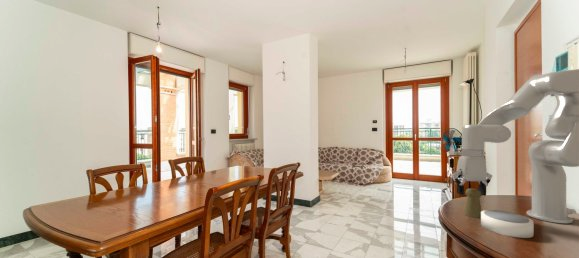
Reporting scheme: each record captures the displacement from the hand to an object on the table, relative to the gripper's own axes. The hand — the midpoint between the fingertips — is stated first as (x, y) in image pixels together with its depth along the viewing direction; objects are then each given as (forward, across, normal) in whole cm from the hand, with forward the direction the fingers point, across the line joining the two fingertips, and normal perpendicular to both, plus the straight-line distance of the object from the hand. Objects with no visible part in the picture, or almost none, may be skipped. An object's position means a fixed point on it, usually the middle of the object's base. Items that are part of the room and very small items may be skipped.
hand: (471, 194), depth 100 cm
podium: (+9, -1, +14) cm, 17 cm away
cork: (+9, -1, 0) cm, 9 cm away
